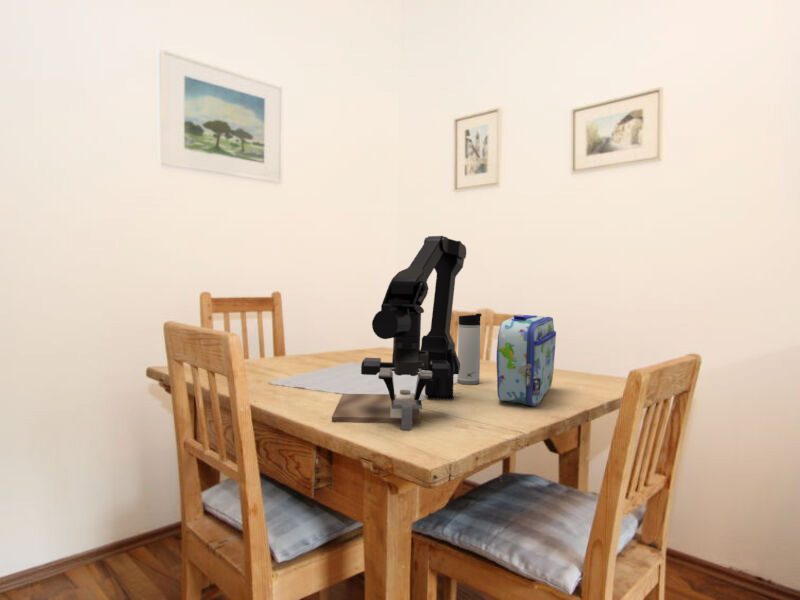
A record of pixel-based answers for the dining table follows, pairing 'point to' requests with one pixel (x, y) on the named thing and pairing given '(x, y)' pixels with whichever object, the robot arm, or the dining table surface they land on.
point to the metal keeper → (406, 411)
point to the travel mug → (469, 349)
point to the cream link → (398, 412)
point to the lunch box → (525, 358)
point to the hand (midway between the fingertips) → (404, 407)
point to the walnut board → (369, 408)
